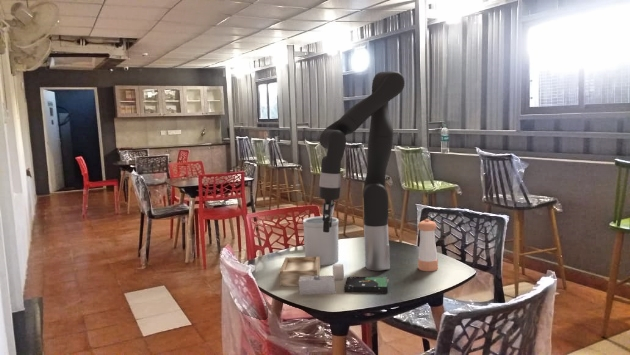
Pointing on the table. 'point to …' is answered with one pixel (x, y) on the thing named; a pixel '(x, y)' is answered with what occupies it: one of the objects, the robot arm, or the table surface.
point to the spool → (338, 271)
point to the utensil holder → (321, 240)
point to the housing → (317, 285)
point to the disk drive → (366, 285)
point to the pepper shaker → (427, 246)
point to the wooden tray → (298, 269)
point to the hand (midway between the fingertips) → (327, 229)
